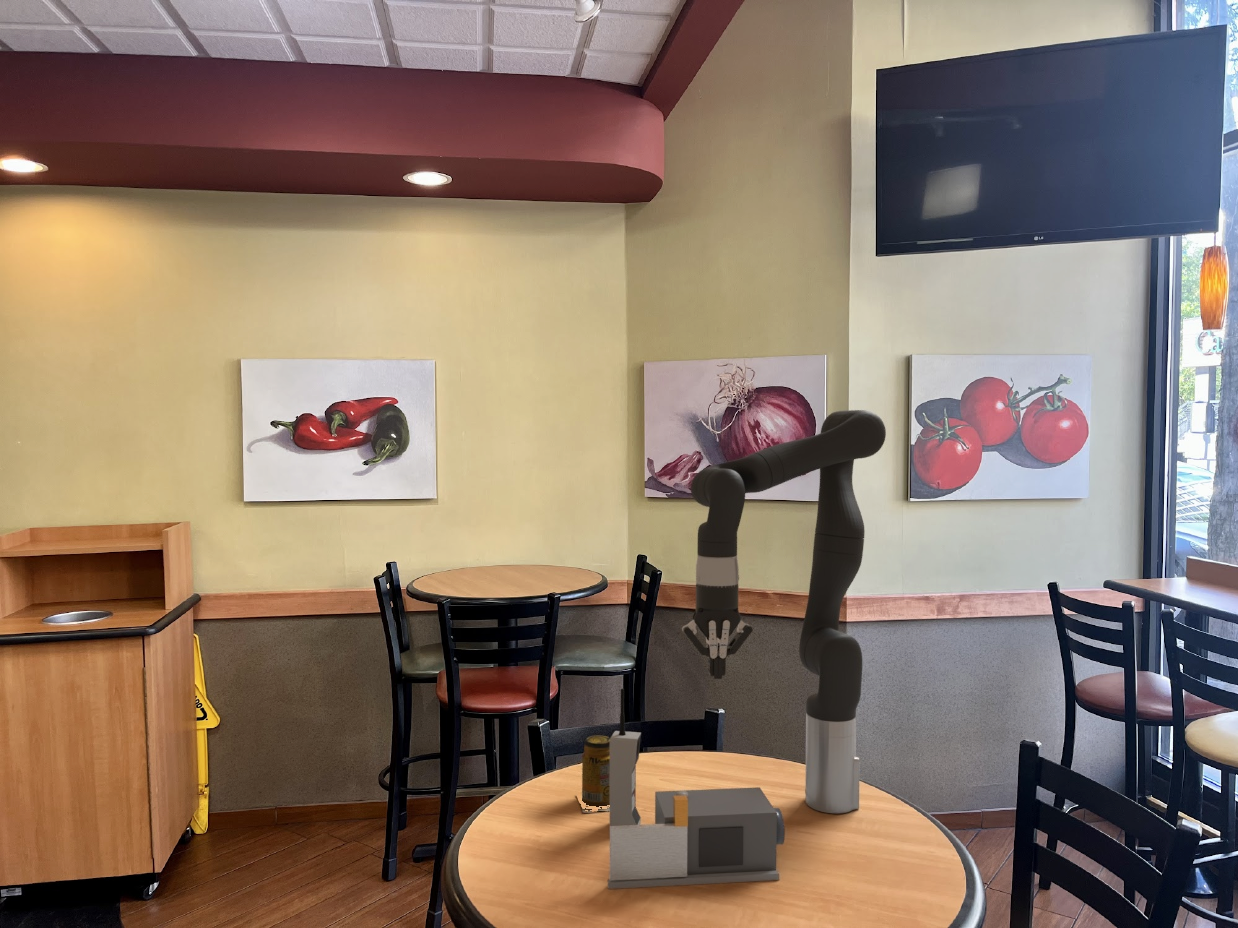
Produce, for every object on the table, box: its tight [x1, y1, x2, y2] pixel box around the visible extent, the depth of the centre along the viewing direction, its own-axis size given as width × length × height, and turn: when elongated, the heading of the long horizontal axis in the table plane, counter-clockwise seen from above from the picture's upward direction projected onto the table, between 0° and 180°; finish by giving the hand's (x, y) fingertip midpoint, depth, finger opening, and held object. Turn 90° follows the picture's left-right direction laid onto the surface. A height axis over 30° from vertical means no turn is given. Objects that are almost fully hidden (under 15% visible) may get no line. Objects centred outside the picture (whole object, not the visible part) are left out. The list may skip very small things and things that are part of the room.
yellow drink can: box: [579, 734, 611, 814], centre depth 162 cm, size 7×8×12 cm
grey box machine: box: [607, 786, 786, 890], centre depth 138 cm, size 29×12×11 cm, turn 96°
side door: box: [609, 795, 688, 881], centre depth 131 cm, size 12×2×12 cm, turn 96°
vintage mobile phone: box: [609, 688, 642, 827], centre depth 151 cm, size 4×5×25 cm
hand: (716, 677), depth 150 cm, fingers closed
